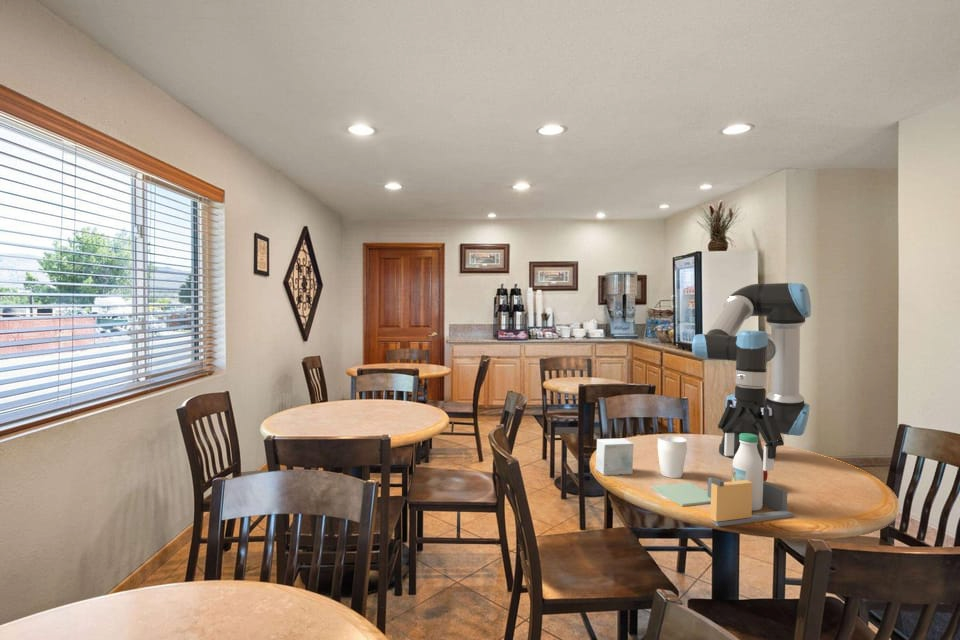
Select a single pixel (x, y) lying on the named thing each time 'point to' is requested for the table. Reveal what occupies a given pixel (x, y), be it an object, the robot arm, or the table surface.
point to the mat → (684, 493)
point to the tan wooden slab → (730, 500)
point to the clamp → (771, 498)
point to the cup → (671, 455)
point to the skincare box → (614, 456)
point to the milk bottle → (749, 467)
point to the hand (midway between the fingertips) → (747, 462)
